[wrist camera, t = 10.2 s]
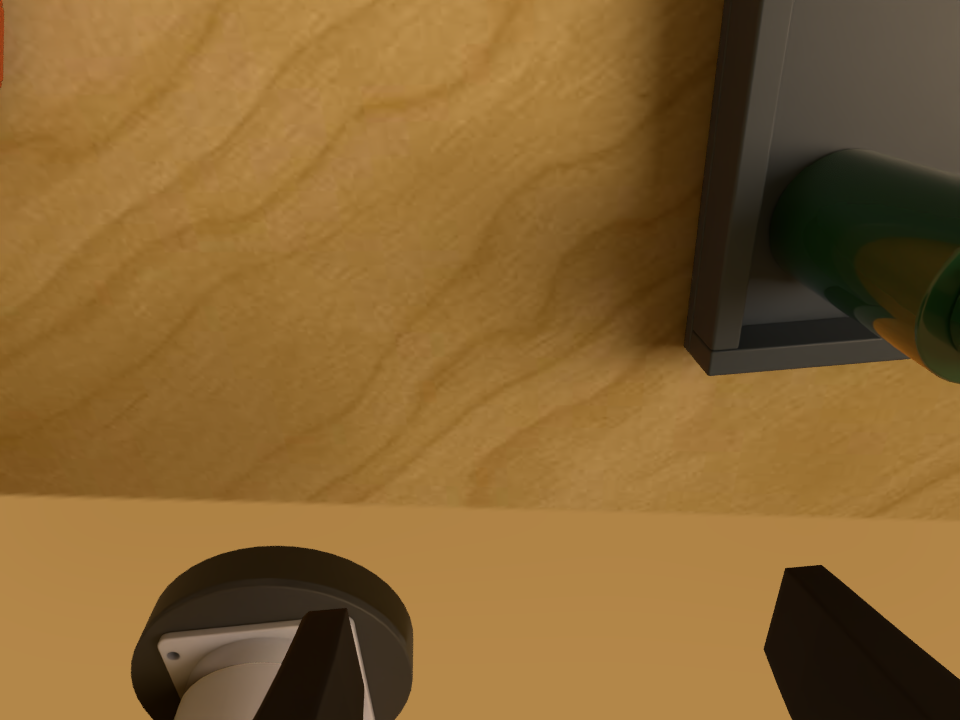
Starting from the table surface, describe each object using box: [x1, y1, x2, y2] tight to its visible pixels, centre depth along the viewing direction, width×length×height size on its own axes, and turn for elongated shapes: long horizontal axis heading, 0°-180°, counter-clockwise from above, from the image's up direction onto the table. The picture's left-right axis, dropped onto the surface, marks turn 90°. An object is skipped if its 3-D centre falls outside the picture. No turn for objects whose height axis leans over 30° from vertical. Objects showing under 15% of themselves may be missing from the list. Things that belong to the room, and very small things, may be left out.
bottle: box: [769, 149, 960, 384], centre depth 13 cm, size 4×4×9 cm
